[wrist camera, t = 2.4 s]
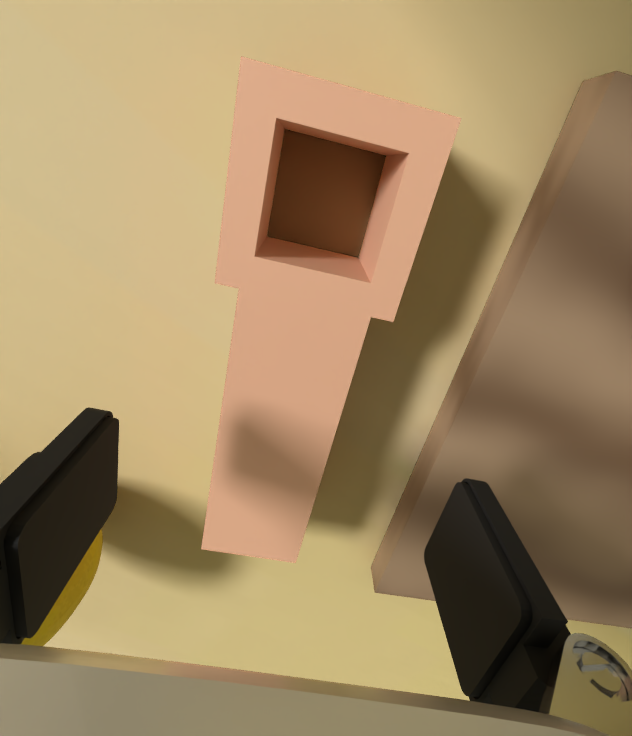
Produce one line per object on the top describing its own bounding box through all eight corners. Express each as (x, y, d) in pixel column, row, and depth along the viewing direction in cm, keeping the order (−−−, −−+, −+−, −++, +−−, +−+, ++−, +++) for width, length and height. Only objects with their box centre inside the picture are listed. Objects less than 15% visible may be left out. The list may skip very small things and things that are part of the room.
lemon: (152, 498, 20) (64, 683, 13) (87, 548, 22) (-23, 738, 15) (54, 430, 18) (-113, 603, 11) (-9, 491, 20) (-191, 677, 13)
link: (258, 83, 12) (241, 56, 9) (425, 129, 13) (461, 118, 10) (204, 485, 20) (183, 546, 17) (311, 503, 20) (311, 565, 17)
